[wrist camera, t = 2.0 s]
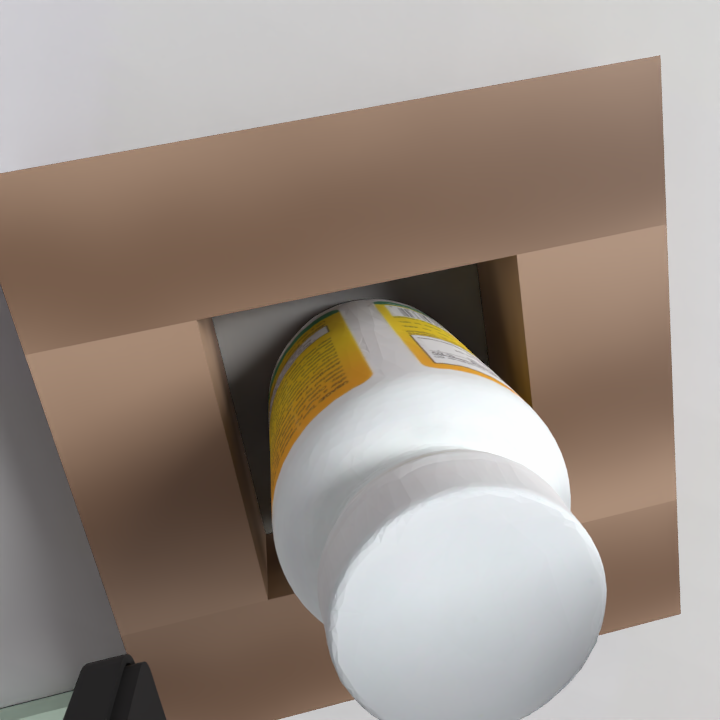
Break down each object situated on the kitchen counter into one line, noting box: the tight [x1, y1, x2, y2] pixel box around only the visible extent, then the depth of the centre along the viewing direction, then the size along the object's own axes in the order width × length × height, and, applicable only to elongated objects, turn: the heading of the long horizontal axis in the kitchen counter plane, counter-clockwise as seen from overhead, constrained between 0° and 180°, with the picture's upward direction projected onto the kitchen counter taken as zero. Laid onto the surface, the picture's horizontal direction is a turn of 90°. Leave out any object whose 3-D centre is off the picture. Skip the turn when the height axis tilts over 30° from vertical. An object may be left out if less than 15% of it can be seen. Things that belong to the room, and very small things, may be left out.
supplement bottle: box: [268, 299, 607, 720], centre depth 14 cm, size 5×5×10 cm
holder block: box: [0, 56, 681, 720], centre depth 17 cm, size 14×14×3 cm
